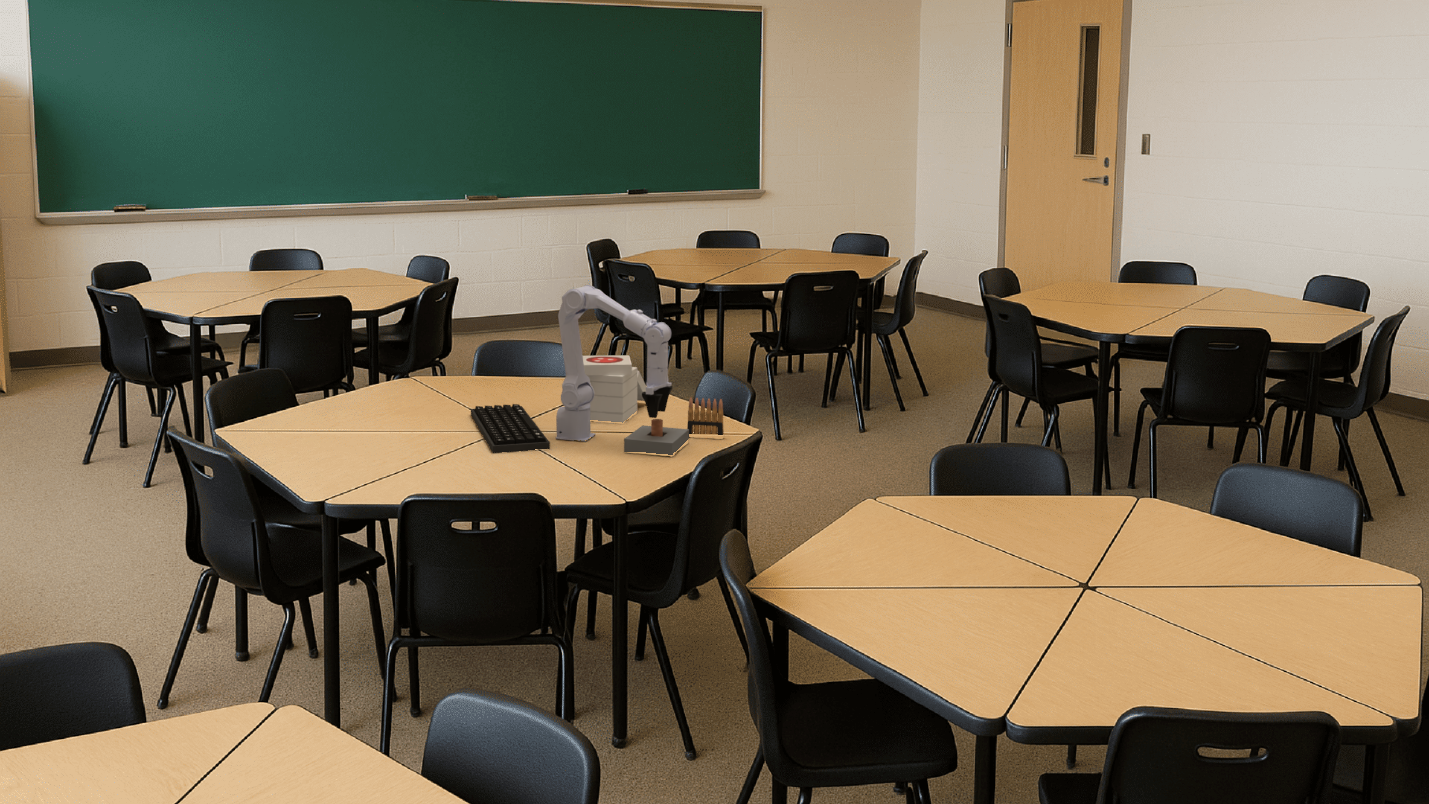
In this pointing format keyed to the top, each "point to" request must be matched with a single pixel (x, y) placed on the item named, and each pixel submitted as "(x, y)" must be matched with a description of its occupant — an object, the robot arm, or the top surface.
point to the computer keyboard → (508, 428)
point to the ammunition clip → (705, 417)
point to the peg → (657, 427)
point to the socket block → (656, 440)
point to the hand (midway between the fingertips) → (657, 414)
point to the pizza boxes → (613, 387)
